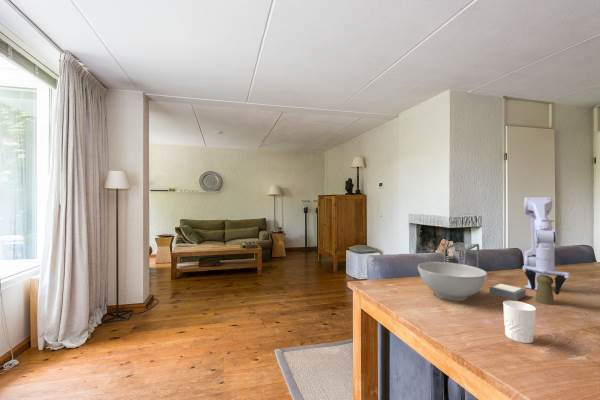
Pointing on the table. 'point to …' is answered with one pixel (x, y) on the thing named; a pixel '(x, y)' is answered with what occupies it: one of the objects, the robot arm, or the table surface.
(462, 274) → the decorative bowl
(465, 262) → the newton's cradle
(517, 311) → the white cup
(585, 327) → the table surface
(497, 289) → the plinth
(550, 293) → the cork
